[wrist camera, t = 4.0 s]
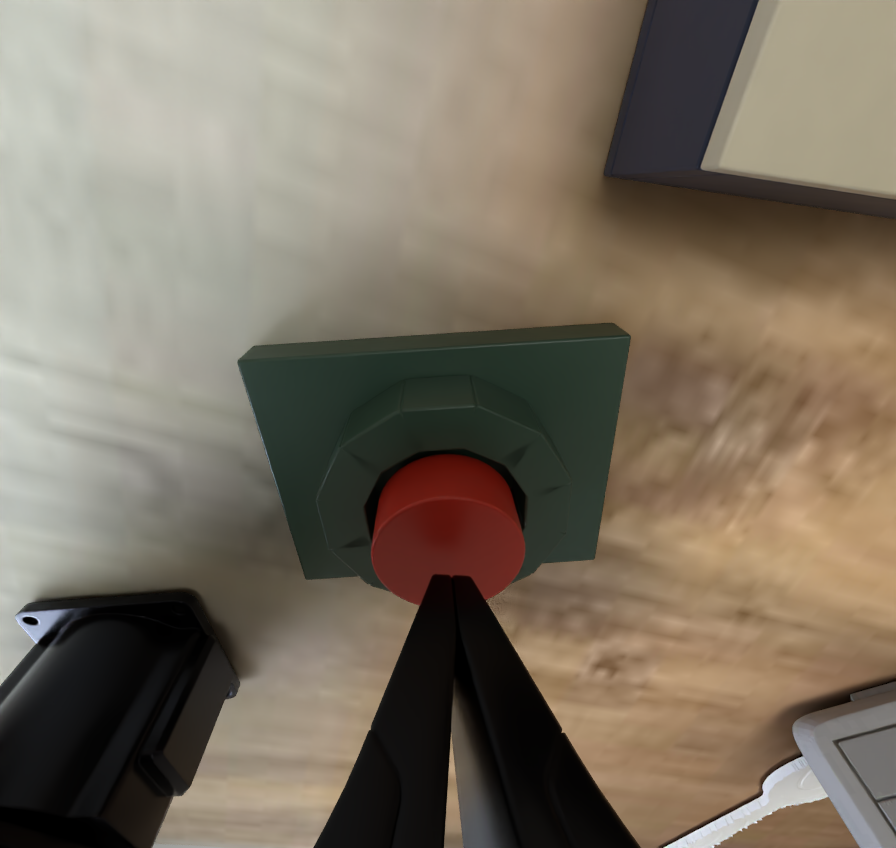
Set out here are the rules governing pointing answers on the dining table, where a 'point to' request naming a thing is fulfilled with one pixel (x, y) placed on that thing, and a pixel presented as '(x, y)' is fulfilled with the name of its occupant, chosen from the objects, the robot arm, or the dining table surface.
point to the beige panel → (813, 98)
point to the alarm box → (439, 430)
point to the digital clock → (856, 761)
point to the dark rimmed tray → (698, 107)
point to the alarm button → (446, 527)
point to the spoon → (760, 804)
